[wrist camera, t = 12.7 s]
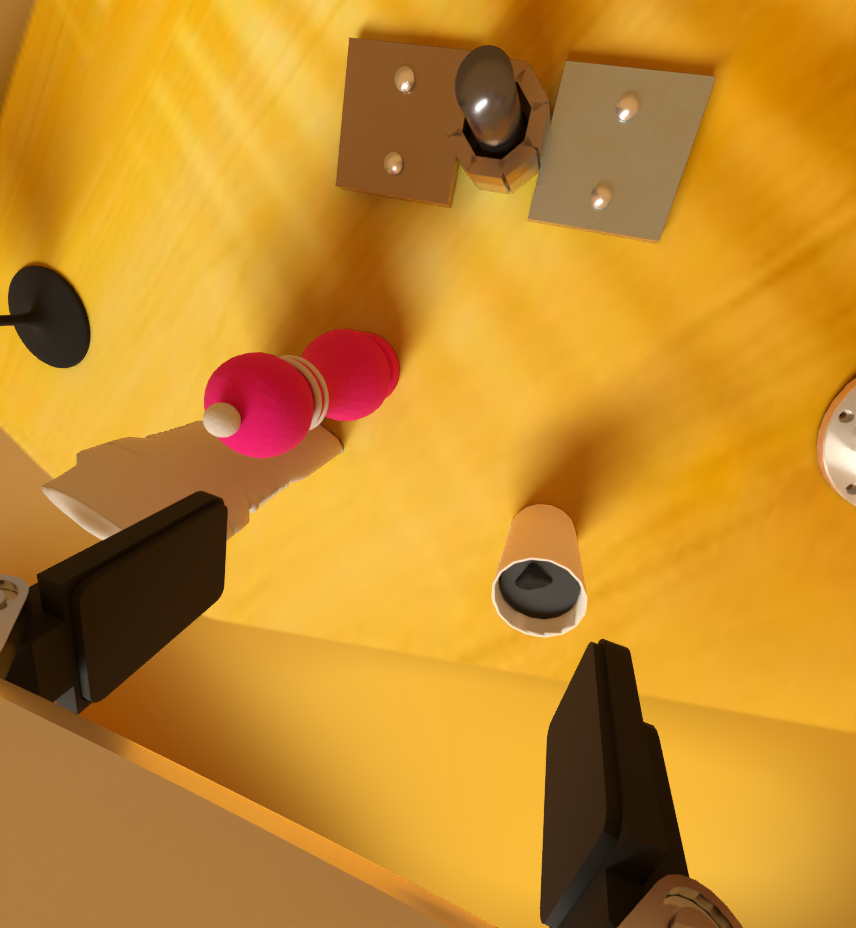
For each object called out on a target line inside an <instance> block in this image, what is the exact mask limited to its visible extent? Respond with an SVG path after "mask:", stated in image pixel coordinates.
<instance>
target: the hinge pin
mask: <svg viewBox="0 0 856 928" xmlns="http://www.w3.org/2000/svg"><path fill="white" fill-rule="evenodd" d="M455 95H456V99H457V102H458V104H459V106H460V108H461V110H462V112H463V114H464V116H465V118H466V120H467V122H468V124H469V125H470V127H471V129H472V131H473V133H474V135H475V137H476V139H477V141H478V143H479V145H480V147H481V149H482V151H483V153H484V155H485V157H486V158H492V159H499V160H502V159H503V158H504V157H505V156H506V155H508V154H509V153H510V152H511V151H512V150H514V149H515V148H516V147H517V146H518V145H520V144H521V143H522V142H523V141H524V140H525V136H526V133H525V128H524V123H523V118H522V113H521V108H520V103H519V97H518V92H517V87H516V82H515V77H514V72H513V67H512V64H511V61H510V59H509V57H508V56H507V54H506V53H505V52H504V51H503V50H501V49H500V48H498V47H495V46H491V45H486V46H481V47H478V48H476V49H474V50H473V51H471V52H470V53H469V54H468V55H467V56H466V57H465V58H464V60H463V61H462V63H461V65H460V66H459V69H458V71H457V74H456V79H455Z"/></svg>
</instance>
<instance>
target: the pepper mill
mask: <svg viewBox="0 0 856 928" xmlns="http://www.w3.org/2000/svg"><path fill="white" fill-rule="evenodd" d="M398 379H399V362H398V359H397V356H396V354H395V352H394V350H393V348H392V347H391V346H390V345H389V343H388V342H387V341H385V340H384V339H383V338H381V337H380V336H378V335H376V334H373V333H368V332H358V331H354V330H350V329H337V330H334V331H330V332H327V333H324V334H322V335H320V336H318V337H317V338H316V339H315V340H314V341H312V342H311V343H310V344H309V345H308V346H307V347H306V349H305V350H304V352H303V354H302V356H301V357H298V356H294V355H282V356H278V357H277V356H274V355H271V354H266V353H261V352H257V353H246V354H242V355H238V356H236V357H233V358H231V359H229V360H228V361H226V362H224V363H223V364H221V365H220V366H219V367H218V368H217V369H216V370H215V371H214V372H213V374H212V376H211V377H210V379H209V381H208V384H207V386H206V389H205V396H204V408H205V412H204V415H203V424H204V427H205V428H206V429H207V431H208V432H209V433H211V434H212V435H214V436H216V437H218V438H219V440H220V441H221V442H222V443H223V444H225V445H226V446H228V447H229V448H230V449H232V450H233V451H235V452H238V453H240V454H242V455H245V456H249V457H254V458H269V457H275V456H278V455H282V454H284V453H286V452H288V451H290V450H292V449H293V448H294V447H296V446H297V445H298V444H300V442H301V441H302V440H303V439H304V438H305V436H306V434H307V433H308V431H309V430H312V429H314V428H315V427H317V426H318V425H319V424H320V423H321V422H322V420H323V419H324V417H327V418H331V419H334V420H340V421H352V420H357V419H360V418H363V417H365V416H368V415H369V414H371V413H373V412H374V411H375V410H376V409H377V408H379V407H380V405H381V404H382V403H383V401H384V399H385V398H387V397H388V396H389V395H390V394H391V393H392V392H393V390H394V389H395V387H396V385H397V382H398Z"/></svg>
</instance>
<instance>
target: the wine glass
mask: <svg viewBox="0 0 856 928" xmlns="http://www.w3.org/2000/svg"><path fill="white" fill-rule="evenodd" d="M8 305H9V311H10V315H0V326H11V325H14V327H15V329H16V331H17V333H18V335H19V337H20V338H21V340H22V342H23V343H24V344H25V346H26V347H27V348H28V349H29V351H30V352H31V353H32V354H33V355H35V356H36V357H37V358H38V359H39V360H41V361H43V362H44V363H46V364H48V365H50V366H53V367H57V368H69V367H72V366H75V365H77V364H78V363H80V362H81V361H82V360H83V358H84V357H85V355H86V353H87V350H88V348H89V342H90V329H89V323H88V318H87V315H86V312H85V309H84V307H83V304H82V302H81V300H80V299H79V297H78V295H77V294H76V292H75V291H74V289H73V288H72V287H71V286H70V285H69V283H68V282H67V281H66V280H65V279H64V278H62V277H61V276H60V275H59V274H57V273H56V272H54V271H52V270H50V269H48V268H45V267H41V266H29V267H25V268H23V269H21V270H20V271H19V272H17V273H16V275H15V276H14V277H13V279H12V281H11V283H10V287H9V293H8Z"/></svg>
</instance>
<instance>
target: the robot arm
mask: <svg viewBox="0 0 856 928" xmlns="http://www.w3.org/2000/svg"><path fill="white" fill-rule="evenodd" d="M842 412H843V415H842V416H840V417H839V415H840V414H841V413H842ZM816 448H817V457H818V463H819V466H820V468H821V471H822V474H823V476H824V478H825V479H826V480H827V482H828V483H829V485H830V486H831V487H832V489H833V490H835V491H836V492H837V493H838V494H839V495H840V496H841V497H843V498H844V499H845V500H847V501H848V502H850V503H851V504H853V505H854V506H856V377H855V378H854V379H853V380H852V381H851V382H849V383H848V384H847V385H846V386H845V388H844V389H843V390H842V391H841V392H840V393H839V394H838V395H837V397H836V398H835V399H834V400H833V402H832V404H831V405H830V407H829V408H828V410H827V412H826V413H825V415H824V418H823V420H822V423H821V426H820V428H819V431H818V439H817V446H816ZM848 485H849V486H848ZM847 486H848V487H847ZM227 519H228V508H227V506H225V505H224V501H223V499H222V498H221V497H218V496H215V495H213V494H210V493H207V492H205V491H197V492H195V493H193V494H191V495H189V496H187V497H185V498H183V499H181V500H179V501H177V502H175V503H174V504H172V505H170V506H168V507H166V508H164V509H162V510H160V511H158V512H156V513H154V514H152V515H150V516H148V517H147V518H145V519H143V520H141V521H139V522H137V523H135V524H133V525H131V526H129V527H127V528H125V529H123V530H122V531H120V532H118V533H116V534H114V535H112V536H110V537H108V538H106V539H104V540H102V541H100V542H99V543H97V544H95V545H93V546H91V547H89V548H87V549H85V550H83V551H81V552H79V553H77V554H75V555H73V556H71V557H70V558H68V559H66V560H64V561H62V562H60V563H58V564H56V565H54V566H52V567H50V568H48V569H47V570H44V571H43V572H41V573H39V574H37V579H38V583H36V584H34V585H33V586H31V587H29V586H28V585H27V583H26V581H24V580H22V579H21V578H19V577H15V576H10V575H0V928H497V927H495V926H494V925H492V924H490V923H488V922H486V921H484V920H482V919H480V918H479V917H477V916H475V915H473V914H471V913H469V912H467V911H465V910H464V909H462V908H460V907H458V906H456V905H454V904H452V903H450V902H449V901H447V900H445V899H443V898H441V897H439V896H437V895H435V894H434V893H431V892H430V891H428V890H426V889H424V888H422V887H420V886H418V885H417V884H415V883H413V882H411V881H409V880H407V879H405V878H403V877H401V876H399V875H397V874H395V873H393V872H391V871H389V870H387V869H385V868H383V867H381V866H379V865H377V864H375V863H373V862H371V861H369V860H367V859H365V858H363V857H362V856H360V855H358V854H356V853H354V852H352V851H349V850H348V849H346V848H344V847H342V846H340V845H338V844H336V843H334V842H332V841H330V840H328V839H326V838H324V837H322V836H320V835H318V834H316V833H314V832H312V831H310V830H308V829H306V828H305V827H302V826H300V825H299V824H297V823H295V822H292V821H291V820H289V819H287V818H285V817H283V816H281V815H279V814H277V813H275V812H272V811H271V810H269V809H267V808H265V807H263V806H261V805H259V804H257V803H255V802H253V801H250V800H249V799H247V798H245V797H243V796H241V795H239V794H237V793H235V792H233V791H231V790H229V789H227V788H225V787H223V786H221V785H219V784H217V783H215V782H213V781H211V780H209V779H207V778H205V777H203V776H201V775H199V774H197V773H195V772H193V771H191V770H189V769H187V768H185V767H183V766H181V765H179V764H177V763H175V762H173V761H171V760H169V759H167V758H165V757H163V756H161V755H159V754H157V753H155V752H153V751H151V750H149V749H146V748H145V747H142V746H141V745H138V744H137V743H135V742H132V741H130V740H128V739H126V738H124V737H122V736H120V735H118V734H116V733H114V732H112V731H110V730H108V729H106V728H104V727H102V726H100V725H98V724H96V723H94V722H92V721H90V720H88V719H86V718H84V717H82V716H80V715H78V714H79V713H80V712H82V711H83V710H84V709H85V708H86V707H88V706H89V705H90V704H91V703H92V702H94V703H95V702H99V701H101V700H103V699H104V698H105V697H106V696H108V695H109V694H110V693H111V692H112V691H113V690H114V689H116V688H117V687H118V686H119V685H120V684H122V683H123V682H124V681H125V680H126V679H127V678H128V677H129V676H131V675H132V674H133V673H134V672H135V671H137V670H138V669H139V668H140V667H141V666H142V665H144V664H145V663H146V662H147V661H148V660H149V659H150V658H152V657H153V656H154V655H155V654H156V653H157V652H159V650H161V649H162V648H163V647H164V646H165V645H167V644H168V643H169V642H170V641H171V640H172V639H173V638H175V637H176V636H177V635H178V634H179V633H180V632H182V631H183V630H184V629H185V628H186V627H187V626H189V625H190V624H191V623H192V622H193V621H194V620H196V619H197V618H198V617H199V616H200V615H201V614H202V613H204V612H205V611H206V610H207V609H208V608H209V607H211V606H212V605H213V604H214V603H215V602H216V601H217V600H218V599H219V598H220V596H221V595H222V593H223V590H224V580H225V560H226V539H227ZM55 700H57V704H55V703H53V702H54V701H55ZM546 752H547V753H546V776H545V777H546V778H545V801H544V802H545V803H544V827H543V851H542V876H541V901H540V917H541V922H542V923H543V924H545V925H547V926H549V928H743V927H742V925H741V924H740V923H739V921H738V920H737V919H736V917H735V916H734V915H733V913H732V912H731V911H730V909H729V908H728V907H727V906H726V905H725V904H724V903H723V902H722V901H721V900H720V899H719V898H718V897H717V896H716V895H715V894H714V893H713V892H712V891H711V890H709V889H708V888H706V887H705V886H703V885H702V884H700V883H699V882H698V881H696V880H693V879H691V878H689V874H688V870H687V865H686V860H685V855H684V851H683V846H682V841H681V837H680V832H679V827H678V823H677V818H676V814H675V809H674V804H673V800H672V795H671V791H670V786H669V781H668V777H667V772H666V767H665V763H664V758H663V753H662V749H661V744H660V740H659V736H658V733H657V730H656V729H655V727H654V726H653V725H650V724H648V723H645V722H643V718H642V712H641V707H640V702H639V696H638V691H637V685H636V680H635V675H634V669H633V664H632V659H631V653H630V650H629V649H628V648H626V647H623V646H621V645H618V644H615V643H613V642H610V641H607V640H605V639H601V640H600V641H599V642H598V644H596V643H593V642H590V643H589V645H588V646H587V648H586V650H585V652H584V655H583V657H582V659H581V661H580V663H579V665H578V667H577V669H576V671H575V673H574V675H573V677H572V679H571V681H570V683H569V685H568V688H567V690H566V692H565V694H564V696H563V698H562V700H561V702H560V704H559V706H558V708H557V711H556V713H555V715H554V716H553V719H552V721H551V723H550V726H549V730H548V736H547V751H546Z"/></svg>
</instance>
